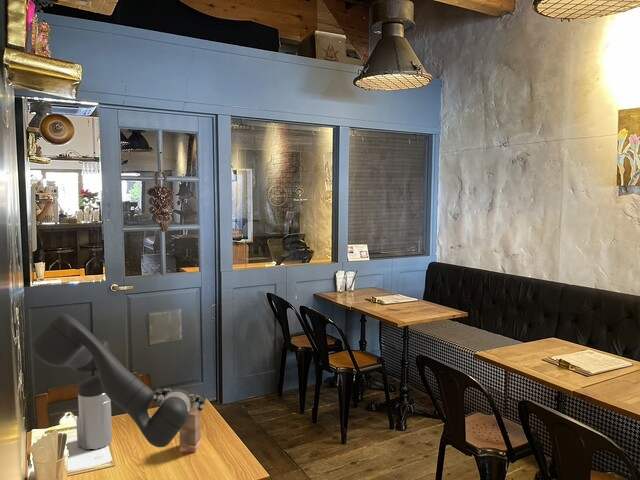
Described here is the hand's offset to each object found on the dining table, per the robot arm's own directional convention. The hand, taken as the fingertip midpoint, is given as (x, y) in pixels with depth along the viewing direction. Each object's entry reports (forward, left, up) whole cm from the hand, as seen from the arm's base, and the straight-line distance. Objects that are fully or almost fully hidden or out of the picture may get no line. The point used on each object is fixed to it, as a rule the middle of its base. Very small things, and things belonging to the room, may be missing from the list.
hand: (182, 394), depth 144 cm
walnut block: (0, +6, -8) cm, 10 cm away
